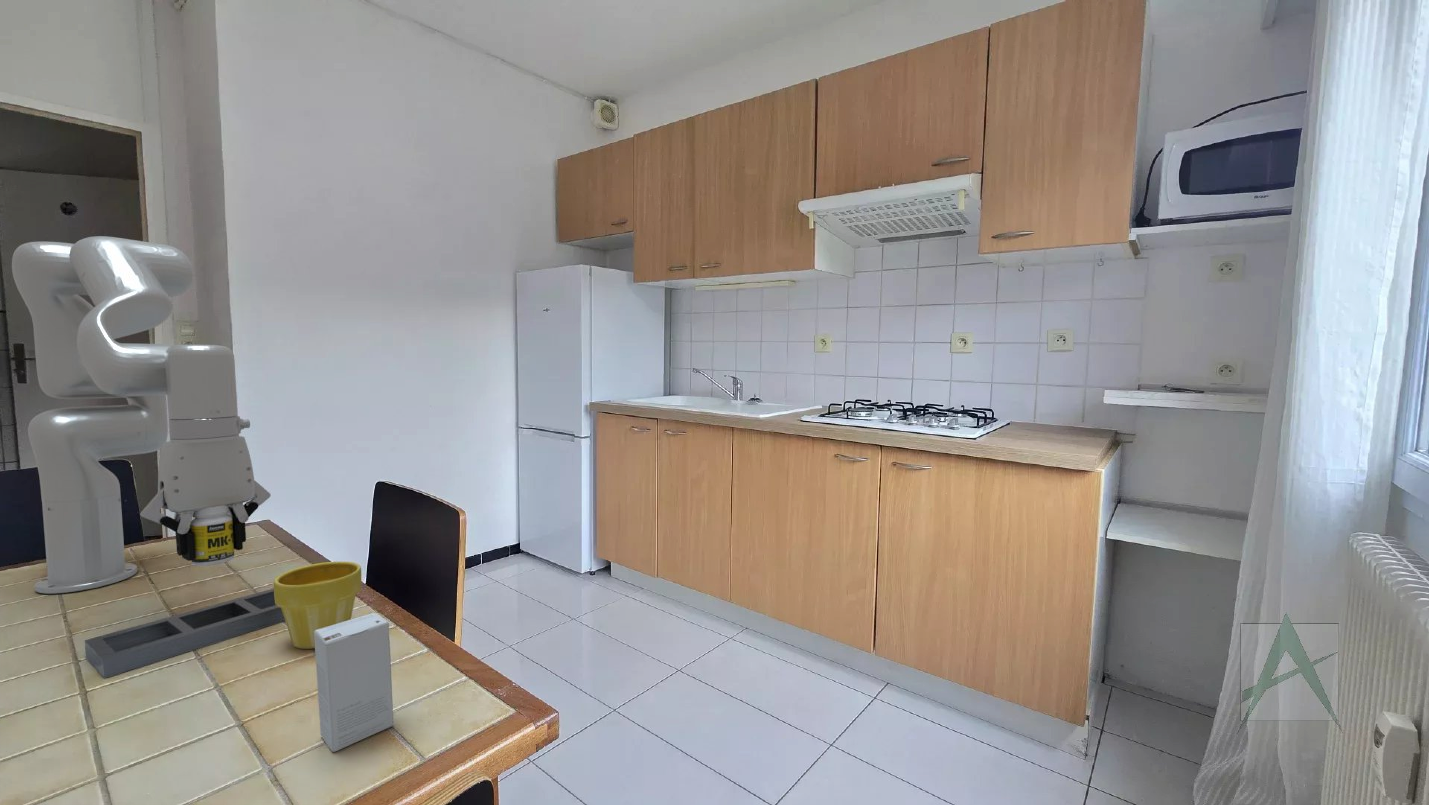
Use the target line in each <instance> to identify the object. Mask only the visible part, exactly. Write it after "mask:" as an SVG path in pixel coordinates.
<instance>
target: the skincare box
mask: <svg viewBox="0 0 1429 805" xmlns="http://www.w3.org/2000/svg"><path fill="white" fill-rule="evenodd" d="M314 640H315V648H314V653H315V664H316V665H315V666H316V669H315V670H316V684H317V685H316V686H317V697H318V698H317V700H318V713H319V714H318V716H319V718H318V719H319V728H320V729H319V733H320V736H321V738H322V739H323V741H324V743H325V744H326V745H327V747H328V748H329V749H330V750H331V752H333V753H335V752H338V751H340V750H342V749H345V748H346V747H349V746H351V745H353V744H355V743H357V742H360V741H362V740H364V739H366V738H369V737H371V736H373V735H375V734H377V733H379V732H382V731H384V730H386V729H389V728H391V727H394V708H393V707H394V706H393V705H394V704H393V685H392V684H393V683H392V679H393V678H392V664H391V661H392V659H391V658H392V657H391V642H390V623H389V621H387V620H386V619H384V618H383V617H382V616H380V615H379V614H377V613H376V612H372V613H368V614H365V615H361V616H358V617H355V618H351V620H348V621H345V622H341V623H338V624H335V625H332V626H328V627H325V628H322V629H318V630H315V631H314Z"/></svg>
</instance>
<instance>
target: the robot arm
mask: <svg viewBox="0 0 1429 805" xmlns="http://www.w3.org/2000/svg"><path fill="white" fill-rule="evenodd" d="M11 270H12V272H11V273H12V277H13V280H14V283H15V285H16V288H17V290H18V292H19V294H20V296H21V298H22V300H23V302H24V303H25V305H26V307H27V308H28V309H27V310H28V312H29V313H30V317H31V321H32V326H33V338H34V340H33V341H34V354H35V361H36V362H35V364H36V375H37V380H38V385H39V388H40V389H41V390H42V393H44V394H45V395H47V396H48V397H51V398H53V399H62V400H87V399H88V400H94V399H118V398H121V399H122V398H125V399H126V401H127V403H128V404H119V405H115V404H113V405H90V406H88V405H87V406H71V407H70V406H69V407H60V408H59V407H58V408H53V409H49V410H46V411H42V412H40V413H38V414H36V416H34V417H32V419H31V420H30V422H29V424H28V427H27V433H28V434H27V436H28V439H29V440H28V441H29V444H30V446H31V450H32V454H33V456H34V458H35V463H36V466H37V467H36V468H37V470H38V476H39V486H40V496H41V503H42V504H41V506H42V508H41V509H42V518H43V519H42V520H43V532H44V544H45V557H46V558H45V559H46V560H45V562H46V570H47V576H45V577H43V578H41V579H39V580H37V581H36V582H35V583H34V584H33V585H34V591H35V592H36V593H40V594H49V595H50V594H52V595H53V594H64V593H74V592H80V591H85V590H91V589H95V588H96V589H97V588H100V587H103V586H108V585H112V584H115V583H119V582H121V581H124V580H126V579H129V578H131V577H133V576H134V575H136V573H138V566H137V564H135V563H132V562H131V563H130V562H126V559H125V558H126V557H125V544H124V528H123V527H124V526H123V514H122V511H123V510H122V501H121V500H122V498H121V487H120V486H121V484H120V482H119V481H120V480H119V479H118V477H117V476H116V475H115V474H114V473H113V472H112V471H110V470H109V469H108V468H106V467H105V466H104V465H102V464H101V463H100V462H99V461H100V460H101V459H108V458H115V457H125V456H126V457H127V456H132V455H142V454H148V453H154V452H157V451H159V450H160V453H159V459H158V474H157V476H158V477H157V478H158V479H157V493H156V494H155V496H153V498H151V500H149V503H147V505H146V506H145V507H144V508H142V511H141V512H140V517H142V518H144V519H147V520H149V521H152V522H154V523H157V524H160V525H162V527H166V528H167V529H170V530H172V532H175V544H176V553H177V555H178V556H181V558H182V559H184V560H186V561H188V562H192V560H194V559H195V558H196V555H195V540H194V533H193V532H190V523H191V521H192V520H193V513H194V511H198V510H203V509H206V508H209V507H215V506H228V507H229V512H228V513H229V515H230V516H231V517H232V521H233V540H234V550H236V551H240V550H243V548H244V545H243V544H244V543H245V542H246V541H247V535H246V534H247V531H246V522H248V521H249V518H250V516H252V514H254V513H255V511H256V510H258V509H259V506H262V505H263V504H264V503H266V501H267V500H269V499H270V497H271V492H269V491H268V490H267V489H265V488H264V487H263V486H262V485H261V484H260V483H259V482H257V481H256V480H255V476H254V469H253V463H252V458H251V455H250V450H249V447H248V443H247V441H246V439H245V438H246V437H245V436H240V434H241V432H242V430H244V429H249V428H250V427H251V422H250V419H243V418H240V417H241V416H238V415H239V411H238V396H237V394H238V392H237V380H236V379H237V377H236V362H235V355H234V352H233V350H232V349H231V348H229V347H227V346H224V345H219V344H218V345H217V344H168V343H167V344H166V343H136V342H135V343H132V342H131V343H129V342H126V343H121V342H118V341H116V339H120V338H124V337H128V336H131V335H134V334H138V333H142V332H144V331H148V330H152V329H155V328H156V327H159V325H162V324H163V323H164V322H165V321H166V320H168V318H170V316H171V314H172V311H173V301H172V299H171V298H174V297H179V296H181V295H184V294H185V293H187V292H189V291H190V289H191V288H192V286H193V283H194V281H195V271H194V268H193V264H192V262H191V260H190V258H188V256H187V255H186V254H185V253H184V252H183V251H182V250H181V249H179V248H177V247H175V246H172V245H169V244H164V243H155V242H149V241H142V240H136V239H128V238H122V237H116V236H106V235H102V236H101V235H99V236H88V237H85V238H82V239H79V240H78V241H76V242H75V243H70V242H69V243H68V242H62V241H61V242H59V241H29V242H25V243H23V244H20V245H19V246H18V247H17V248H16V249H14V252H13V255H12V258H11ZM81 295H82V296H89V299H91V301H92V303H93V305H94V306H93V305H92V304H91V303H90V302H88V301H87V300H86V299H85V298H83V297H82V296H81ZM168 434H169V441H168ZM243 503H244V504H243ZM161 509H163V510H164V509H165V510H168V511H169V512H172V513H174V517H173V518H172V517H171V516H169V515H166V514H163V513H161Z"/></svg>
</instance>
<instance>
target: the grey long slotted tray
mask: <svg viewBox="0 0 1429 805" xmlns="http://www.w3.org/2000/svg"><path fill="white" fill-rule="evenodd" d="M283 622H286V621H285V618H284V615H283V612H282V609H281V607H278V606H277V605H276V604H275V599H274V587H272V588H270V589H267V590H264V591H260V592H256V593H251V594H248V595H245V596H241V597H238V598H237V597H236V598H234V599H231V600H227V601H222V602H219V603H216V604H213V605H212V604H211V605H209V606H204V607H201V608H197V609H194V610H189V611H186V612H183V613H179V614H175V615H172V616H168V617H164V618H160V619H157V620H154V621H153V620H152V621H150V622H145V623H142V624H139V625H135V626H131V627H128V628H125V629H121V630H117V631H113V632H110V633H106V634H103V635H99V636H96V637H92V638H91V637H90V638H88V639H85V640H84V641H83V642H84V654H85V655H84V656H85V659H86V660H87V661H88V662H89V663H90V664H91V666H92V667H93V668H95V670H96V671H97V672H98V673H99V674H100V676H101V677H103V679H107V678H110V677H113V676H117V675H120V674H123V673H126V672H129V671H133V670H136V669H138V668H143V667H145V666H148V665H151V664H154V663H157V662H161V661H164V660H167V659H170V658H174V657H176V656H179V655H184V654H186V653H189V652H192V651H195V650H198V649H202V648H204V647H207V646H211V645H214V644H217V643H221V642H223V641H226V640H230V639H232V638H236V637H240V636H242V635H245V634H249V633H251V632H255V631H257V630H261V629H264V628H267V627H270V626H274V625H277V624H280V623H283Z"/></svg>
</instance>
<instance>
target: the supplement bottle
mask: <svg viewBox="0 0 1429 805" xmlns="http://www.w3.org/2000/svg"><path fill="white" fill-rule="evenodd" d="M229 513H230V512H229V507H228V506H215V507H209V508H206V509H203V510H198V511H194V513H193V516H192V520H191V523H190V527H189V528H190V532H193V533H194V540H195V555H196V558H195V559H194V560H191V565H193V566H194V567H208V566H215V565H221V564H223V563H226V562H229V561H232V560H233V559H234V557H235V549H234V540H233V521H232V517H231V515H230V514H229Z"/></svg>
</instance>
